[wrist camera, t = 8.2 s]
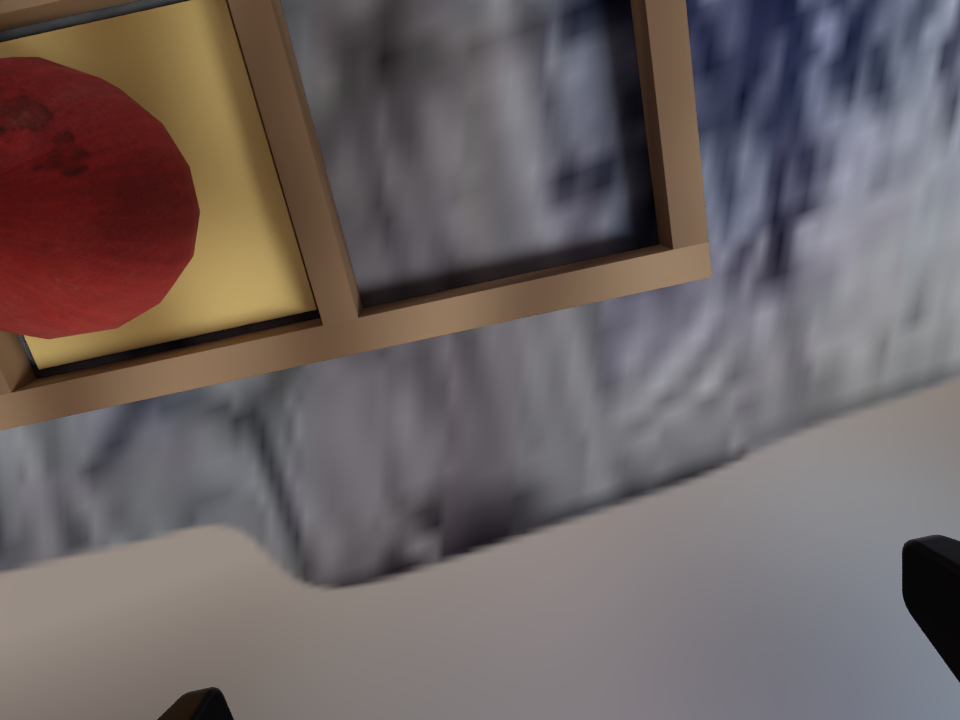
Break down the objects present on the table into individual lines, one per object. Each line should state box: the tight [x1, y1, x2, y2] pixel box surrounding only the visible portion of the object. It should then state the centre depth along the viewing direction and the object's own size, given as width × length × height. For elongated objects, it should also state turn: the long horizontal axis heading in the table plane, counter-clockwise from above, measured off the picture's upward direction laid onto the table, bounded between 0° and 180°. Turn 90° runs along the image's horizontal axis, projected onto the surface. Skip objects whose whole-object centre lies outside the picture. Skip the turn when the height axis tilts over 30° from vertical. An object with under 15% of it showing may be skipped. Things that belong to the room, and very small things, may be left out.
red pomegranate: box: [0, 57, 200, 339], centre depth 14 cm, size 6×6×8 cm
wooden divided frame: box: [0, 0, 712, 430], centre depth 17 cm, size 21×11×1 cm, turn 102°
